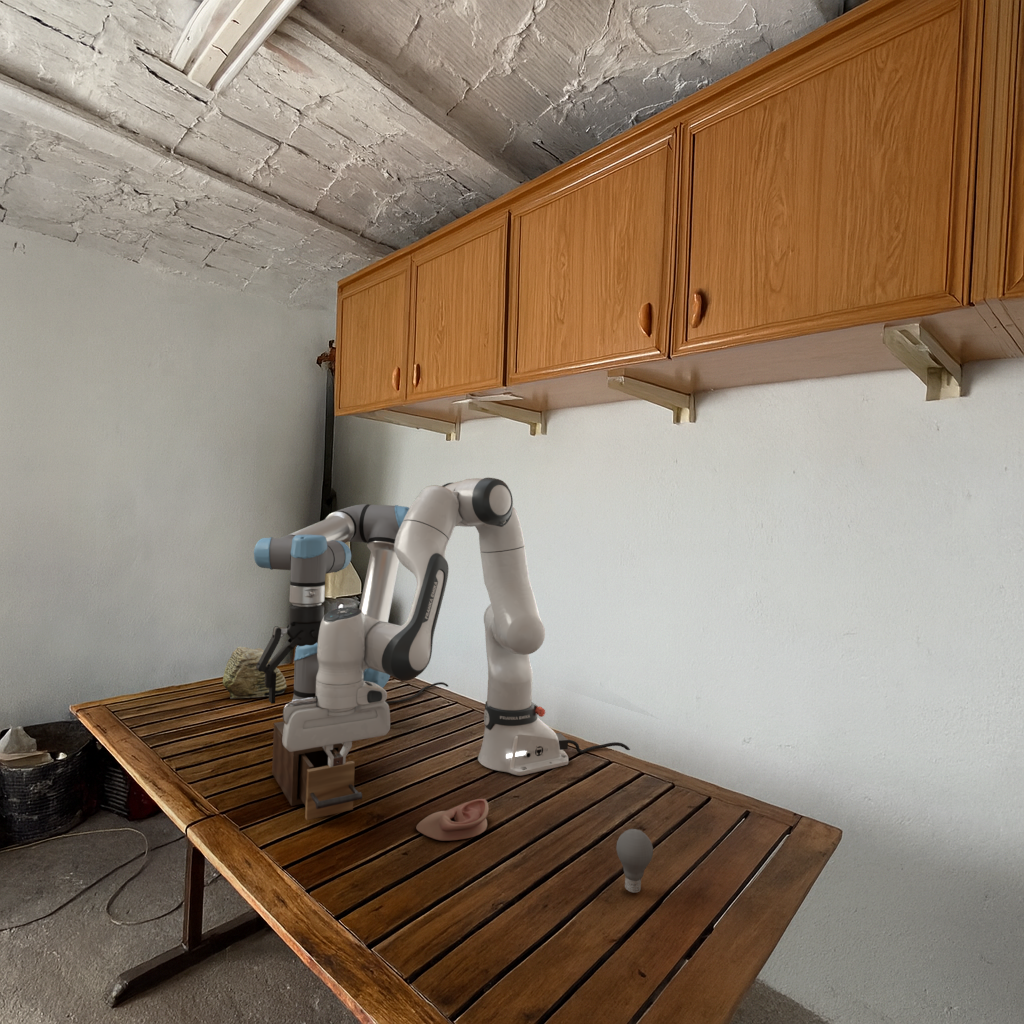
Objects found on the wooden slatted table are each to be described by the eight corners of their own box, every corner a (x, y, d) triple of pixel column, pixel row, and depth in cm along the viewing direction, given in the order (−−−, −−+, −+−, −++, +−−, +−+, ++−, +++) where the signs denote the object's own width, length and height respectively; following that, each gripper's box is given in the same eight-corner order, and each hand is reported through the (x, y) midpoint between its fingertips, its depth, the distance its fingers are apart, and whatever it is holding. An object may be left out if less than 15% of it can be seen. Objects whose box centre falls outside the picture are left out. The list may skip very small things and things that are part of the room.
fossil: (218, 695, 195) (220, 647, 195) (278, 685, 208) (279, 640, 207) (228, 703, 189) (230, 653, 188) (289, 692, 201) (290, 645, 201)
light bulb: (610, 879, 108) (613, 822, 108) (644, 879, 109) (647, 822, 109) (619, 902, 102) (622, 840, 102) (655, 901, 103) (658, 840, 103)
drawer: (362, 822, 122) (364, 773, 122) (314, 833, 117) (316, 783, 117) (328, 778, 140) (330, 735, 140) (286, 786, 135) (287, 742, 135)
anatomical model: (410, 815, 119) (430, 788, 131) (410, 836, 119) (430, 807, 131) (479, 825, 117) (493, 797, 128) (478, 847, 117) (492, 817, 128)
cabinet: (341, 795, 135) (343, 741, 135) (291, 806, 129) (293, 750, 129) (317, 764, 149) (319, 716, 149) (272, 773, 144) (273, 722, 144)
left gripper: (251, 609, 132) (247, 710, 133) (366, 603, 146) (362, 695, 146) (244, 603, 138) (240, 700, 139) (355, 598, 152) (351, 686, 152)
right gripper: (287, 705, 113) (284, 782, 114) (394, 691, 125) (392, 761, 125) (279, 695, 119) (276, 769, 119) (382, 682, 130) (380, 749, 130)
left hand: (303, 697), depth 142 cm, fingers open, 13 cm apart
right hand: (336, 764), depth 122 cm, fingers closed
